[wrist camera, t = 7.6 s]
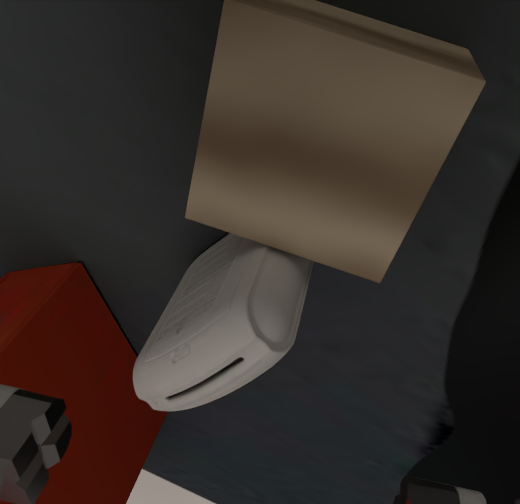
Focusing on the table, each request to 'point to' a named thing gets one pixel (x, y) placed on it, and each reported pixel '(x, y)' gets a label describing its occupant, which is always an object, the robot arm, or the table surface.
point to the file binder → (77, 380)
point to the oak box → (325, 130)
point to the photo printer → (223, 324)
